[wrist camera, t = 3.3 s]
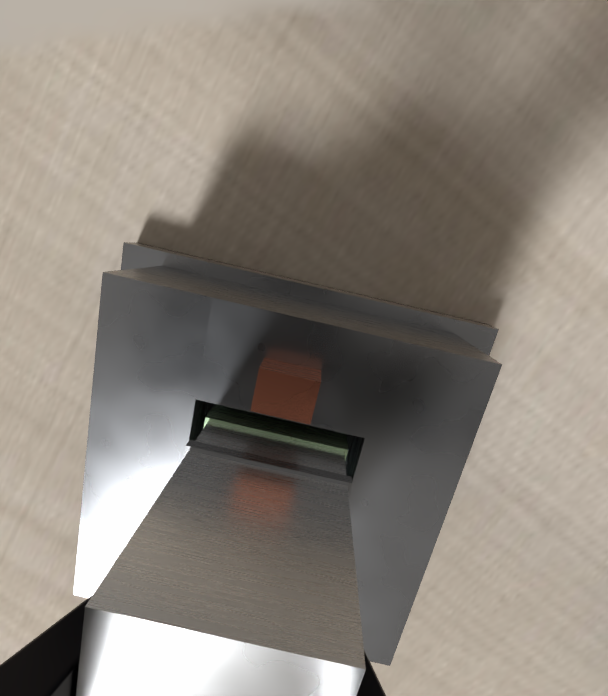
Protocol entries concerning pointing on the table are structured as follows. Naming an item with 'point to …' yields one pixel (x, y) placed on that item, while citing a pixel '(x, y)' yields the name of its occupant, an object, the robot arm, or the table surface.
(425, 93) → the table surface
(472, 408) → the housing
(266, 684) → the column
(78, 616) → the robot arm
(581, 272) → the table surface
